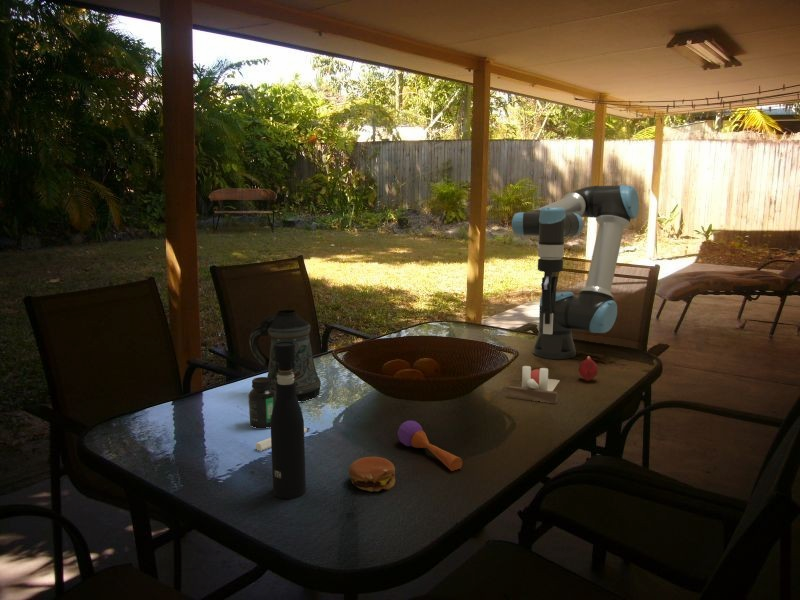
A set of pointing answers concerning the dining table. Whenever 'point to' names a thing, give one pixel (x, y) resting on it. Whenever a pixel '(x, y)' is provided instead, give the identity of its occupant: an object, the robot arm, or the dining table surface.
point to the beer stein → (297, 331)
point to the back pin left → (543, 379)
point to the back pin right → (526, 376)
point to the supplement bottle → (261, 402)
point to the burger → (372, 473)
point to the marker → (269, 442)
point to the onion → (588, 369)
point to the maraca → (426, 444)
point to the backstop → (532, 394)
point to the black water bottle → (287, 429)
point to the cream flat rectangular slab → (552, 384)
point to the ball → (535, 375)
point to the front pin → (532, 384)
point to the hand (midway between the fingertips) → (547, 333)
